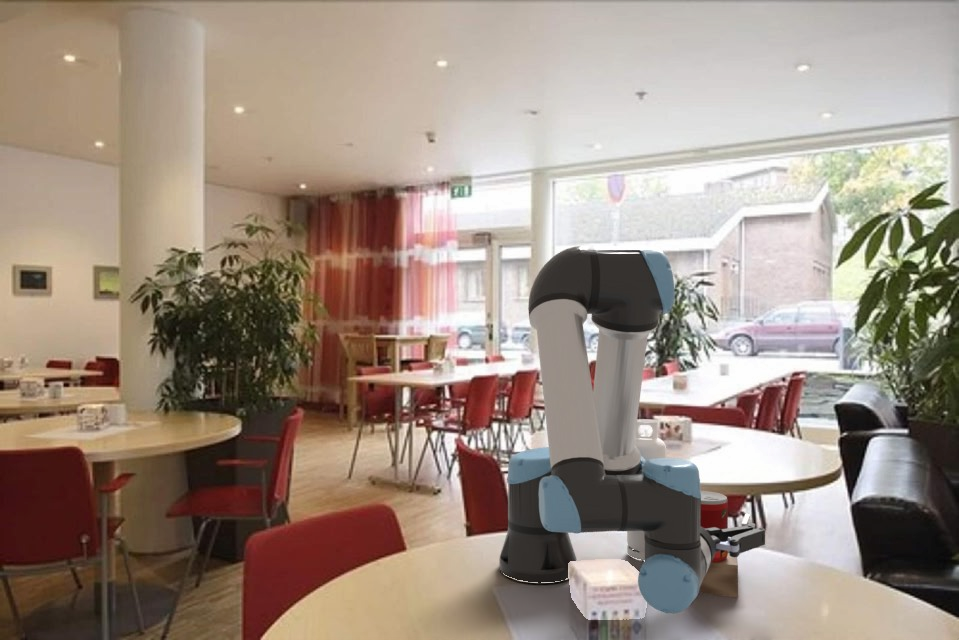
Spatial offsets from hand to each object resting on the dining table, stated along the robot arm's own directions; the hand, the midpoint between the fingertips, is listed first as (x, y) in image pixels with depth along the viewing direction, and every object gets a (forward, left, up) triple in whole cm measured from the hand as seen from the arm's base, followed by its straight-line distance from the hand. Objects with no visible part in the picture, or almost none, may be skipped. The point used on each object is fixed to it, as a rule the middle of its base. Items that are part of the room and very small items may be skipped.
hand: (707, 516), depth 118 cm
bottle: (-14, +13, -13) cm, 23 cm away
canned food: (-1, +2, -8) cm, 8 cm away
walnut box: (-2, +5, -14) cm, 15 cm away
